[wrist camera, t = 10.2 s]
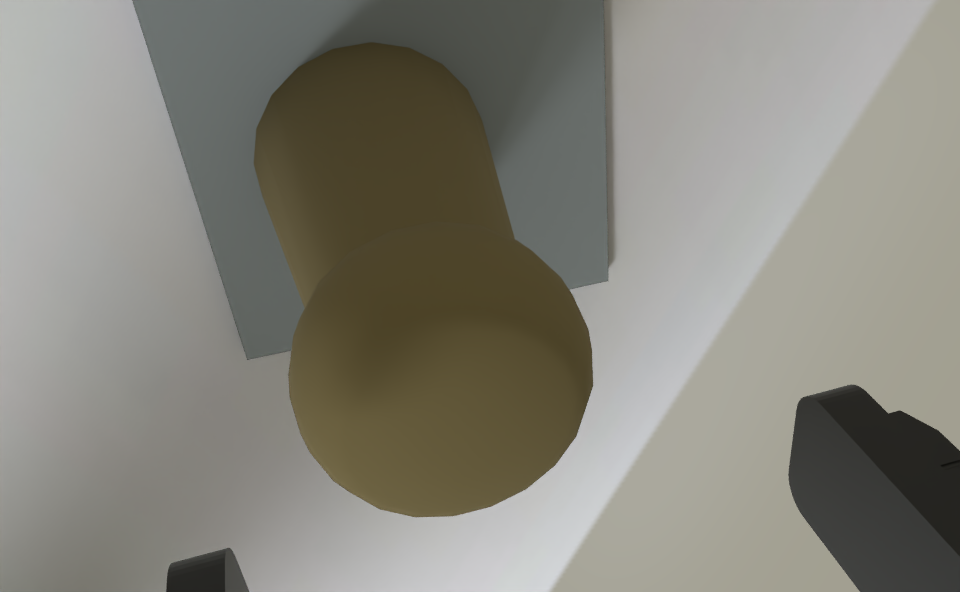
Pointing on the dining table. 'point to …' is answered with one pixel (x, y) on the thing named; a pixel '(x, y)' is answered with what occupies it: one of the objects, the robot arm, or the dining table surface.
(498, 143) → the mat
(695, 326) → the dining table surface
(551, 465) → the cork
